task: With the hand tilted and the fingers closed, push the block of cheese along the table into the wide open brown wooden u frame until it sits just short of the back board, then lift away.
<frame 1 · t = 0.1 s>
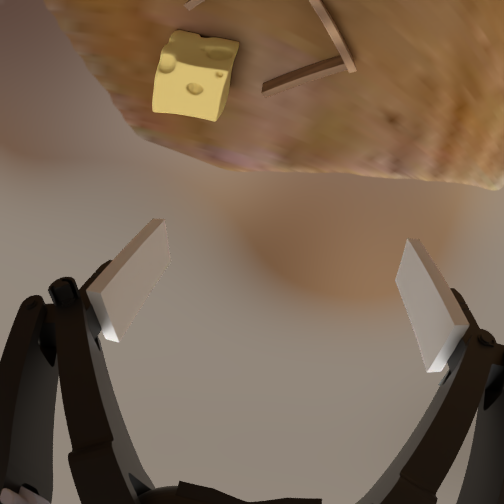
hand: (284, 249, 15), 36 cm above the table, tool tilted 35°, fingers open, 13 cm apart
brown wooden u frame: (271, 25, 32), on the table
cheese: (204, 58, 39), on the table
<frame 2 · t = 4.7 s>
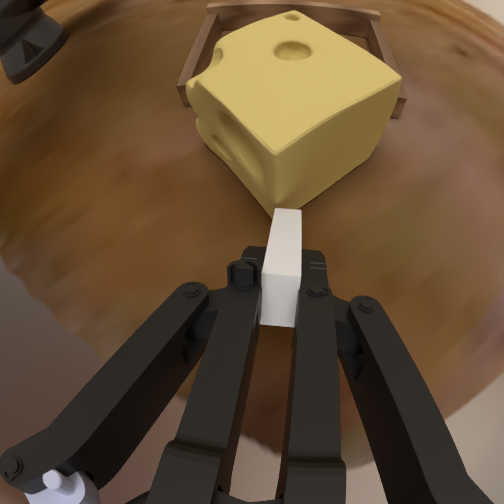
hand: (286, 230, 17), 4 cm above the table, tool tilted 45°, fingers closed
brown wooden u frame: (293, 61, 26), on the table
cheese: (289, 150, 23), on the table, touching gripper
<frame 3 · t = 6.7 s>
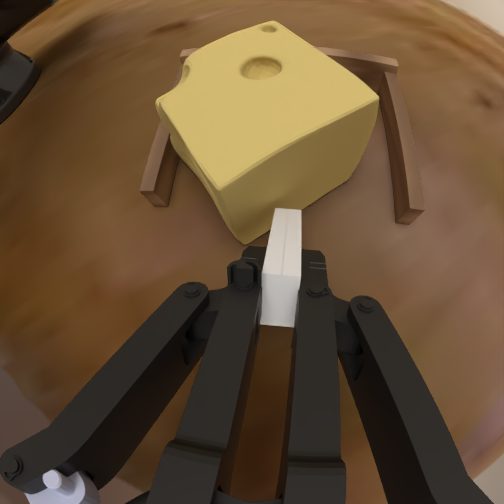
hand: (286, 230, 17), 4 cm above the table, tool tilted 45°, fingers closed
brown wooden u frame: (286, 136, 24), on the table
cheese: (266, 168, 23), on the table, touching gripper
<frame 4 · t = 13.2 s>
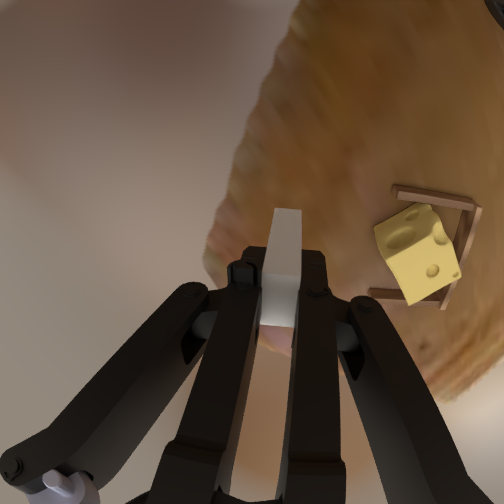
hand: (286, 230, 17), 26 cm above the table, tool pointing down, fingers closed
brown wooden u frame: (418, 247, 44), on the table
cheese: (407, 236, 44), on the table
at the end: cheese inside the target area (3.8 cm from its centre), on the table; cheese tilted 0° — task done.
